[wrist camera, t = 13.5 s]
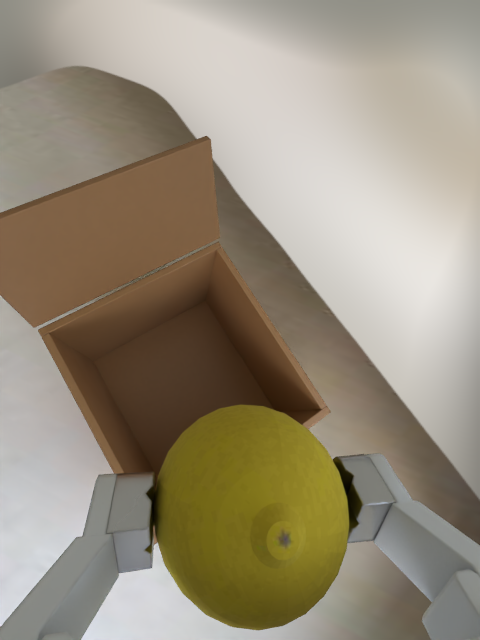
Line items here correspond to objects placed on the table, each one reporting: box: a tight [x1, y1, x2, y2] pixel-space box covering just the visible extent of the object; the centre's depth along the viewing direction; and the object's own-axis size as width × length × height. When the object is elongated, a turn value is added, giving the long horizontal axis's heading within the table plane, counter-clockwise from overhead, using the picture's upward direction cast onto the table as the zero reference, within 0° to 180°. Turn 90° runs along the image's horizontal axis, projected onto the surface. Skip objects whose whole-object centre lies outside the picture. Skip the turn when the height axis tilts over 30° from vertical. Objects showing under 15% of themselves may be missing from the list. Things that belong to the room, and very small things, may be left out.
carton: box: [38, 242, 331, 544], centre depth 24 cm, size 12×13×10 cm
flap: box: [0, 136, 220, 328], centre depth 17 cm, size 12×6×1 cm
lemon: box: [154, 405, 349, 630], centre depth 10 cm, size 6×6×8 cm
